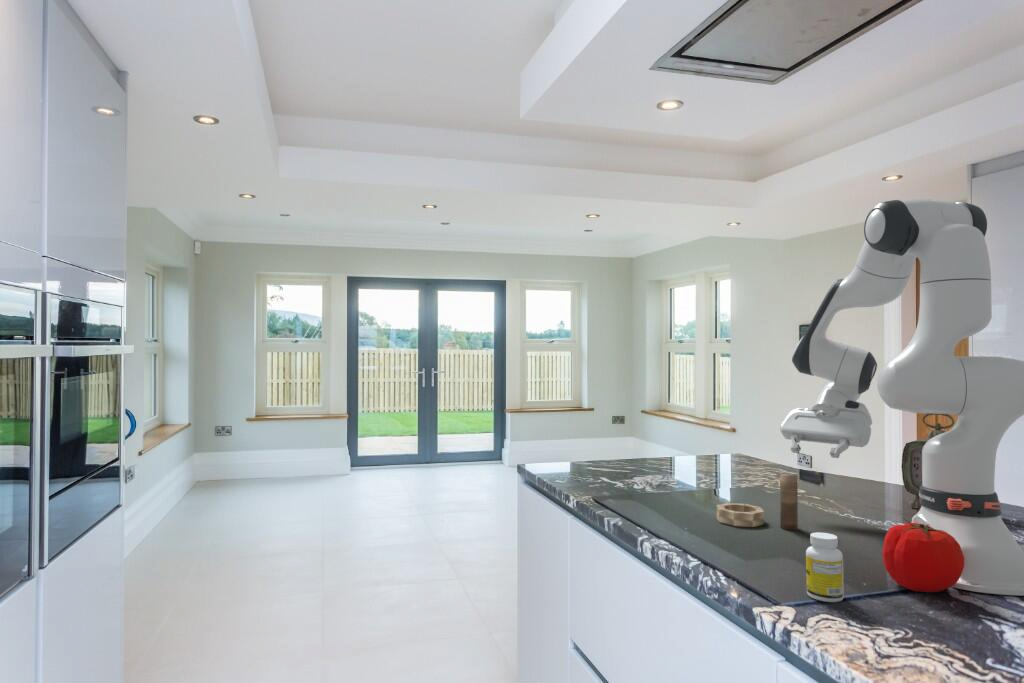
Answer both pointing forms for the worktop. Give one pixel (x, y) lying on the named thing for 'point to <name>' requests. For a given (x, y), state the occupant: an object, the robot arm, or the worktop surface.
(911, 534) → the tomato
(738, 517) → the wooden octagonal ring
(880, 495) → the worktop surface
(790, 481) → the brown wooden cylinder
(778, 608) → the worktop surface
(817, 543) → the supplement bottle
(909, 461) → the tabletop clock
